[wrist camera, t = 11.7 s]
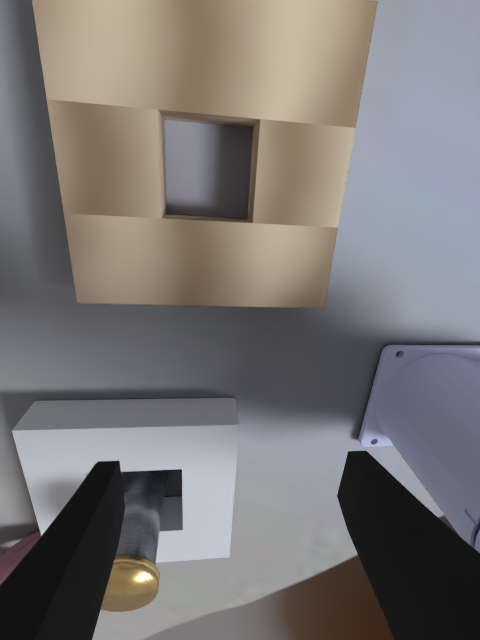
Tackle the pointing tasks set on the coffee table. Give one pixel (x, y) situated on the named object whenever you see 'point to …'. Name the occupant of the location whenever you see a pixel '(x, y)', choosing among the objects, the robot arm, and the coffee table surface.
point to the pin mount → (204, 107)
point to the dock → (139, 461)
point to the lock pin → (137, 543)
